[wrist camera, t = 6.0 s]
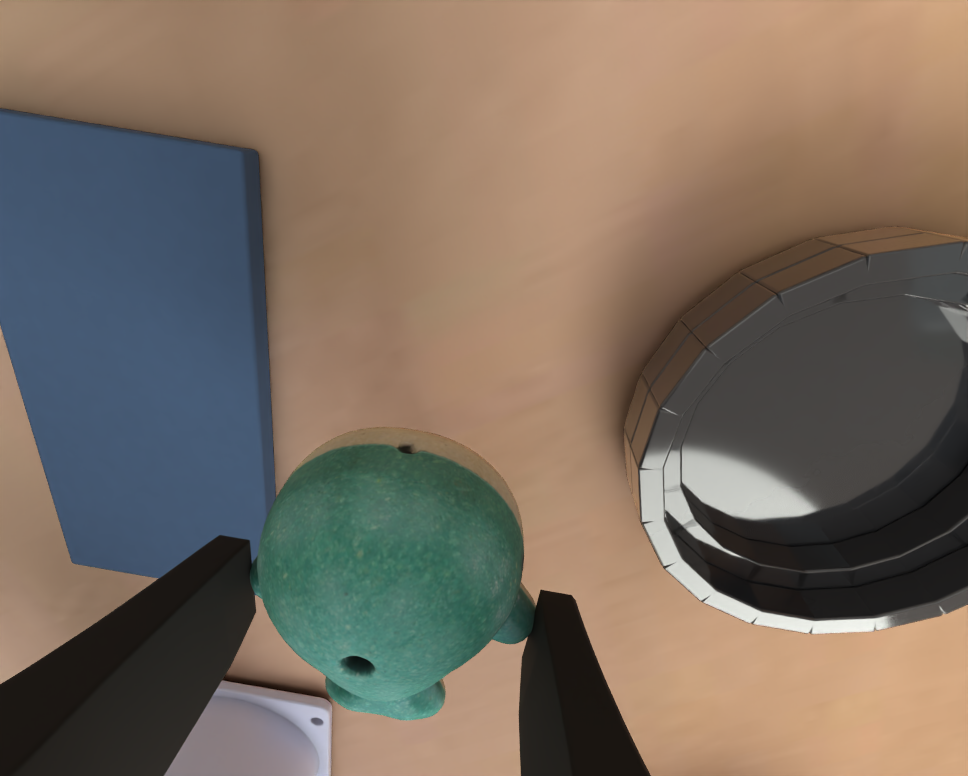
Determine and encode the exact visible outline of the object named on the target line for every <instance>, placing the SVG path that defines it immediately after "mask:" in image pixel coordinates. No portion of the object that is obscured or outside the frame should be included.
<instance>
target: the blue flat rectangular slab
mask: <svg viewBox="0 0 968 776" xmlns="http://www.w3.org/2000/svg"><path fill="white" fill-rule="evenodd" d="M0 326H1V329H2V332H3V336H4V339H5V342H6V346H7V349H8V352H9V356H10V359H11V362H12V365H13V369H14V372H15V375H16V379H17V382H18V385H19V389H20V392H21V395H22V399H23V402H24V405H25V409H26V412H27V415H28V419H29V422H30V425H31V428H32V432H33V435H34V438H35V442H36V445H37V448H38V452H39V455H40V458H41V462H42V465H43V468H44V472H45V475H46V478H47V482H48V485H49V488H50V491H51V495H52V498H53V501H54V505H55V508H56V511H57V515H58V518H59V521H60V525H61V528H62V531H63V535H64V538H65V541H66V545H67V548H68V551H69V554H70V558H71V561H72V563H74V564H78V565H84V566H90V567H95V568H101V569H107V570H113V571H119V572H124V573H130V574H136V575H142V576H148V577H153V578H160V577H162V576H163V575H164V574H166V573H167V572H169V571H170V570H171V569H173V568H174V567H175V566H177V565H178V564H180V563H181V562H182V561H184V560H185V559H186V558H188V557H189V556H191V555H192V554H193V553H195V552H196V551H197V550H199V549H200V548H202V547H203V546H204V545H206V544H207V543H209V542H210V541H212V540H213V539H214V538H216V537H217V536H219V535H224V536H229V537H235V538H241V539H247V540H250V547H251V559H252V563H253V561H254V559H255V558H256V557H257V556H258V549H259V544H260V538H261V534H262V531H263V527H264V524H265V521H266V519H267V516H268V513H269V511H270V509H271V507H272V505H273V503H274V501H275V499H276V490H275V470H274V450H273V431H272V411H271V391H270V372H269V352H268V332H267V313H266V293H265V273H264V253H263V234H262V214H261V194H260V175H259V155H258V152H257V151H255V150H253V149H247V148H241V147H234V146H228V145H222V144H216V143H210V142H204V141H198V140H192V139H186V138H179V137H173V136H167V135H161V134H155V133H149V132H143V131H137V130H131V129H124V128H118V127H112V126H106V125H100V124H94V123H88V122H82V121H75V120H69V119H63V118H57V117H51V116H45V115H39V114H33V113H27V112H20V111H14V110H8V109H2V108H0ZM254 594H255V595H257V594H256V593H255V592H254Z"/></svg>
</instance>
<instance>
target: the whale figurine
mask: <svg viewBox="0 0 968 776" xmlns="http://www.w3.org/2000/svg"><path fill="white" fill-rule="evenodd" d="M523 562H524V544H523V529H522V522H521V517H520V513H519V509H518V506H517V503H516V501H515V499H514V496H513V494H512V492H511V490H510V489H509V487H508V485H507V484H506V482H505V481H504V479H503V478H502V477H501V475H500V474H499V473H498V472H497V471H496V470H495V469H494V468H493V467H492V466H491V465H490V464H489V463H488V462H487V461H486V460H485V459H483V458H482V457H481V456H480V455H478V454H477V453H475V452H474V451H472V450H470V449H469V448H467V447H465V446H463V445H461V444H459V443H458V442H455V441H453V440H451V439H448V438H445V437H442V436H440V435H436V434H432V433H428V432H423V431H418V430H412V429H405V428H392V427H376V428H367V429H360V430H356V431H352V432H348V433H346V434H343V435H340V436H337V437H335V438H333V439H332V440H330V441H328V442H326V443H325V444H323V445H321V446H320V447H318V448H317V449H316V450H314V451H313V452H312V453H311V454H310V455H308V456H307V457H306V458H305V459H304V460H303V461H302V462H301V463H300V464H299V466H298V467H297V468H296V469H295V470H294V471H293V473H292V474H291V475H290V477H289V478H288V480H287V481H286V483H285V484H284V486H283V488H282V489H281V491H280V492H279V494H278V496H277V498H276V499H275V501H274V503H273V505H272V507H271V509H270V511H269V513H268V516H267V519H266V521H265V524H264V527H263V531H262V534H261V538H260V544H259V549H258V556H257V557H256V558H255V559H254V561H253V563H252V567H251V570H250V582H251V586H252V589H253V590H254V592H255V593H256V594H257V596H258V597H260V598H261V599H263V603H264V606H265V608H266V610H267V613H268V615H269V617H270V619H271V621H272V622H273V624H274V626H275V627H276V629H277V630H278V632H279V634H280V635H281V636H282V638H283V639H284V640H285V642H286V643H287V644H288V645H289V646H290V647H291V648H292V649H293V650H294V652H295V653H296V654H298V655H299V656H300V657H301V658H302V659H303V660H305V661H306V662H307V663H309V664H310V665H311V666H313V667H314V668H316V669H318V670H319V671H320V672H322V673H323V674H324V675H325V676H326V680H325V683H326V690H327V692H328V694H329V695H330V696H331V698H332V699H333V700H334V701H336V702H337V703H338V704H340V705H341V706H343V707H344V708H346V709H348V710H351V711H356V712H365V713H372V714H379V715H384V716H387V717H391V718H395V719H399V720H416V719H423V718H427V717H430V716H433V715H434V714H436V713H437V712H438V711H439V710H440V709H441V708H442V706H443V704H444V700H445V692H446V691H445V685H444V682H443V679H442V678H443V677H445V676H446V675H447V674H449V673H450V672H451V671H453V670H455V669H457V668H458V667H460V666H462V665H463V664H464V663H466V662H467V661H468V660H470V659H471V658H472V657H474V656H475V655H476V654H477V653H479V652H480V651H481V650H482V649H483V648H484V647H485V646H486V645H487V644H488V643H489V642H490V641H491V640H492V639H493V640H496V641H498V642H501V643H505V644H516V643H519V642H521V641H523V640H524V639H525V638H527V637H528V636H529V634H530V633H531V632H532V628H533V623H534V616H535V609H536V605H535V603H534V600H533V598H532V597H531V595H530V594H529V592H528V591H527V590H526V588H525V587H524V585H523V584H522V583H521V578H522V571H523Z"/></svg>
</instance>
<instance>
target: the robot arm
mask: <svg viewBox="0 0 968 776" xmlns="http://www.w3.org/2000/svg"><path fill="white" fill-rule="evenodd" d="M251 567H252V559H251V547H250V540H247V539H241V538H235V537H229V536H224V535H219V536H217V537H216V538H214V539H213V540H212V541H210V542H209V543H207V544H206V545H204V546H203V547H202V548H200V549H199V550H197V551H196V552H195V553H193V554H192V555H191V556H189V557H188V558H186V559H185V560H184V561H182V562H181V563H180V564H178V565H177V566H175V567H174V568H173V569H171V570H170V571H169V572H167V573H166V574H164V575H163V576H162V577H160V578H159V579H158V580H156V581H155V582H153V583H152V584H151V585H149V586H148V587H146V588H145V589H144V590H142V591H141V592H139V593H138V594H137V595H135V596H134V597H132V598H131V599H129V600H128V601H127V602H125V603H124V604H122V605H121V606H119V607H118V608H117V609H115V610H114V611H112V612H111V613H109V614H108V615H107V616H105V617H104V618H102V619H101V620H99V621H98V622H96V623H95V624H93V625H92V626H91V627H89V628H88V629H86V630H85V631H83V632H82V633H80V634H78V635H77V636H75V637H74V638H72V639H71V640H69V641H68V642H66V643H65V644H63V645H62V646H60V647H59V648H57V649H55V650H54V651H52V652H51V653H49V654H48V655H46V656H45V657H43V658H42V659H40V660H39V661H37V662H36V663H34V664H32V665H31V666H29V667H28V668H26V669H25V670H23V671H21V672H20V673H18V674H16V675H15V676H13V677H12V678H10V679H8V680H7V681H5V682H3V683H2V684H0V776H331V746H332V705H331V703H330V702H329V701H328V700H326V699H324V698H321V697H315V696H309V695H304V694H298V693H292V692H286V691H281V690H275V689H269V688H263V687H258V686H252V685H246V684H240V683H235V682H229V681H223V678H224V676H225V674H226V673H227V671H228V669H229V668H230V666H231V664H232V662H233V660H234V658H235V656H236V654H237V652H238V650H239V648H240V646H241V643H242V641H243V639H244V637H245V635H246V633H247V630H248V628H249V626H250V624H251V622H252V619H253V617H254V615H255V613H256V606H255V594H254V590H253V589H252V586H251V582H250V570H251ZM519 734H520V762H521V776H651V775H650V773H649V771H648V769H647V767H646V765H645V764H644V762H643V760H642V758H641V756H640V754H639V752H638V750H637V748H636V746H635V743H634V741H633V739H632V737H631V735H630V733H629V731H628V729H627V727H626V725H625V722H624V720H623V718H622V716H621V714H620V711H619V709H618V707H617V705H616V702H615V700H614V698H613V696H612V694H611V691H610V689H609V687H608V685H607V682H606V680H605V678H604V675H603V673H602V670H601V668H600V666H599V663H598V661H597V658H596V656H595V653H594V651H593V648H592V645H591V643H590V640H589V638H588V635H587V632H586V630H585V627H584V624H583V621H582V618H581V615H580V612H579V610H578V606H577V603H576V600H575V599H574V598H573V596H572V595H567V594H562V593H556V592H550V591H544V590H541V591H540V594H539V598H538V602H537V605H536V609H535V616H534V623H533V628H532V632H531V633H530V634H529V636H528V638H527V642H526V645H525V649H524V652H523V656H522V667H521V683H520V702H519Z"/></svg>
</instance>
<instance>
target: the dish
mask: <svg viewBox="0 0 968 776" xmlns="http://www.w3.org/2000/svg"><path fill="white" fill-rule="evenodd" d="M624 426H625V428H624V443H625V460H626V475H627V479H628V483H629V486H630V489H631V493H632V496H633V499H634V502H635V506H636V509H637V512H638V516H639V519H640V522H641V525H642V527H643V529H644V531H645V533H646V535H647V537H648V539H649V541H650V543H651V545H652V547H653V549H654V551H655V553H656V555H657V557H658V559H659V562H660V564H661V565H662V566H663V568H664V569H665V570H666V571H667V572H668V573H670V574H671V575H672V576H673V577H674V578H675V579H676V580H677V581H678V582H679V583H681V584H682V585H683V586H684V587H685V588H686V589H687V590H688V591H689V592H690V593H692V594H693V595H694V596H695V597H696V598H697V599H698V600H699V601H701V602H703V603H705V604H707V605H709V606H711V607H713V608H716V609H718V610H720V611H722V612H725V613H727V614H729V615H731V616H733V617H736V618H738V619H740V620H742V621H745V622H747V623H752V624H753V625H759V626H765V627H771V628H777V629H782V630H788V631H794V632H800V633H806V634H808V633H810V634H831V633H855V632H873V631H875V630H876V631H879V630H883V629H888V628H892V627H896V626H900V625H905V624H909V623H913V622H917V621H922V620H926V619H930V618H934V617H939V616H941V615H942V614H948V613H950V612H952V611H955V610H957V609H959V608H961V607H964V606H966V605H968V238H967V237H961V236H954V235H948V234H942V233H936V232H930V231H924V230H918V229H911V228H905V227H899V226H897V227H893V226H890V227H883V228H877V229H870V230H863V231H857V232H850V233H843V234H836V235H830V236H823V237H816V238H814V239H810V240H808V241H806V242H803V243H801V244H799V245H797V246H794V247H792V248H790V249H787V250H785V251H783V252H781V253H778V254H776V255H774V256H772V257H769V258H767V259H765V260H763V261H760V262H758V263H756V264H754V265H751V266H749V267H747V268H745V269H742V270H740V271H739V272H738V273H736V274H734V275H733V276H732V277H731V278H729V279H728V280H727V281H726V282H724V283H723V284H722V285H721V286H719V287H718V288H717V289H716V290H714V291H713V292H712V293H711V294H709V295H708V296H707V297H706V298H704V299H703V300H702V301H701V302H699V303H698V304H697V305H696V306H694V307H693V308H692V309H691V310H689V311H688V312H687V313H686V314H684V315H683V316H682V317H681V320H679V321H678V322H677V323H676V325H675V326H674V327H673V329H672V330H671V332H670V333H669V334H668V336H667V337H666V339H665V340H664V341H663V343H662V344H661V346H660V347H659V348H658V350H657V351H656V353H655V354H654V355H653V357H652V358H651V360H650V361H649V362H648V364H647V365H646V367H645V368H644V369H643V372H642V374H641V375H640V377H639V380H638V383H637V387H636V390H635V393H634V396H633V399H632V402H631V406H630V409H629V412H628V415H627V418H626V421H625V425H624Z"/></svg>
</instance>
